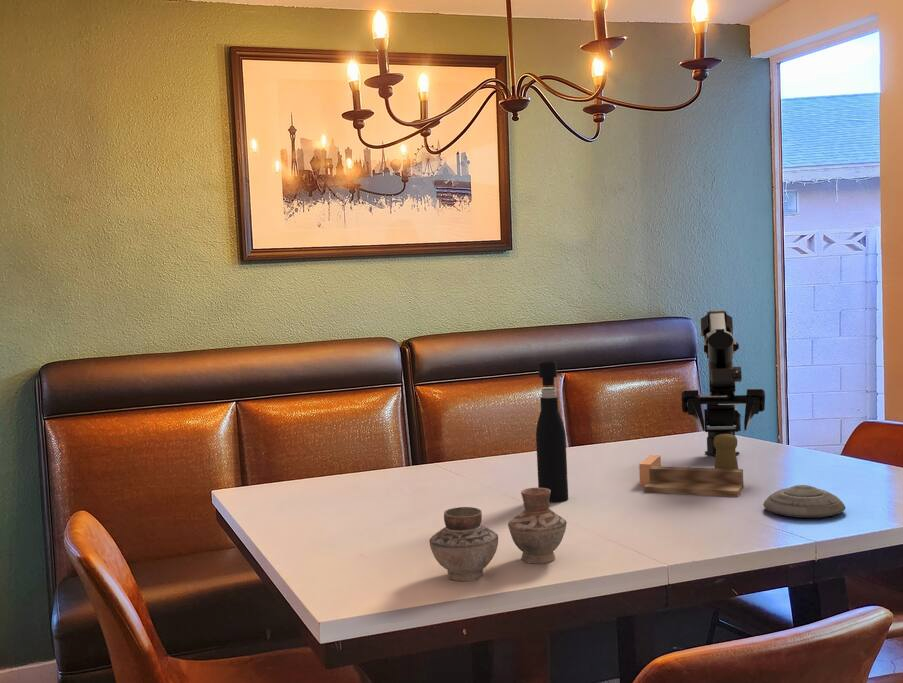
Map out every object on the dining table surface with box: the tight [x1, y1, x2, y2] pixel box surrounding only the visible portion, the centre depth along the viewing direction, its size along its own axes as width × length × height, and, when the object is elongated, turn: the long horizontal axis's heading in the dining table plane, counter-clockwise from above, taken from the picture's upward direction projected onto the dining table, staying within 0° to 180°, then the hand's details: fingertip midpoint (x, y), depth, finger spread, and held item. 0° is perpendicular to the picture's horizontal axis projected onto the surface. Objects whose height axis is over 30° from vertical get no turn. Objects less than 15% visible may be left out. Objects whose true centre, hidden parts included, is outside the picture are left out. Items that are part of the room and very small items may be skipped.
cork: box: [713, 434, 739, 469], centre depth 205 cm, size 6×6×11 cm
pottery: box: [428, 487, 568, 582], centre depth 151 cm, size 11×25×12 cm, turn 120°
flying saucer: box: [762, 484, 846, 519], centre depth 177 cm, size 15×15×6 cm
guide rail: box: [638, 454, 745, 498], centre depth 204 cm, size 22×17×5 cm
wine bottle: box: [535, 360, 569, 504], centre depth 197 cm, size 6×6×30 cm
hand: (724, 429), depth 209 cm, fingers open, 9 cm apart
